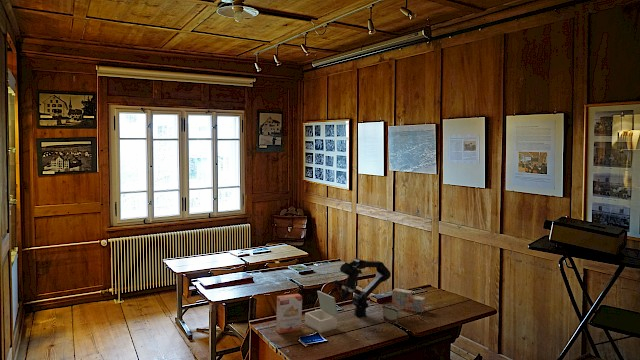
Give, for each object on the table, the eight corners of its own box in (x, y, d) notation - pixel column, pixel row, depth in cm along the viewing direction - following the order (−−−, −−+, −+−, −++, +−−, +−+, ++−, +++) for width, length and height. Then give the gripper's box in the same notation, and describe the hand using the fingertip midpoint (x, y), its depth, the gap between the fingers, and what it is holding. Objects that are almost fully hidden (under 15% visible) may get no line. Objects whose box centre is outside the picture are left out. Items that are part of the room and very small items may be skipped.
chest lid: (320, 309, 285) (322, 308, 286) (337, 317, 272) (338, 316, 273) (317, 291, 283) (318, 290, 283) (333, 298, 269) (334, 297, 270)
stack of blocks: (424, 311, 306) (425, 293, 305) (421, 313, 301) (422, 295, 300) (395, 304, 317) (395, 287, 316) (391, 307, 312) (392, 289, 311)
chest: (320, 320, 286) (320, 309, 285) (336, 328, 273) (336, 317, 272) (304, 324, 279) (305, 312, 278) (320, 332, 266) (320, 321, 265)
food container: (403, 323, 283) (404, 307, 283) (398, 325, 279) (398, 309, 278) (387, 317, 292) (387, 302, 291) (381, 320, 287) (381, 304, 287)
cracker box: (279, 334, 262) (280, 298, 261) (275, 330, 268) (276, 295, 266) (301, 330, 268) (302, 295, 267) (297, 327, 274) (298, 292, 273)
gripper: (368, 285, 291) (359, 308, 288) (343, 274, 299) (333, 297, 296) (364, 282, 281) (354, 306, 278) (338, 271, 289) (328, 294, 286)
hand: (342, 301), depth 285 cm, fingers closed
